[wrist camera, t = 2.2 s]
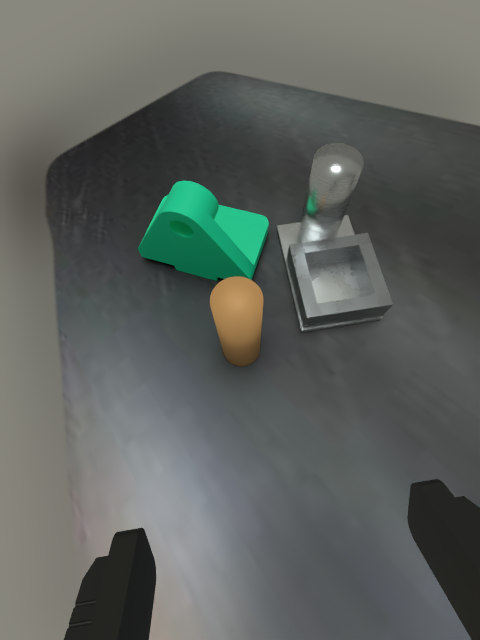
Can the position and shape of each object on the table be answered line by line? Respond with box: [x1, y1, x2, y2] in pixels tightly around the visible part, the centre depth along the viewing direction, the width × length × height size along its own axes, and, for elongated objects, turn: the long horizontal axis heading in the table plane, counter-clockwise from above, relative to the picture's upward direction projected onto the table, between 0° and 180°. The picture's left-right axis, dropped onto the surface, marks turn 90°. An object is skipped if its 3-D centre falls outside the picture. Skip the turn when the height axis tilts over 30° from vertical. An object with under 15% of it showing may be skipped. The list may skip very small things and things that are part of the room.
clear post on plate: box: [277, 143, 393, 333], centre depth 31 cm, size 12×8×11 cm, turn 9°
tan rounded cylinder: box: [210, 276, 263, 366], centre depth 28 cm, size 4×4×11 cm
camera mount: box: [138, 181, 268, 281], centre depth 33 cm, size 12×8×10 cm, turn 72°
